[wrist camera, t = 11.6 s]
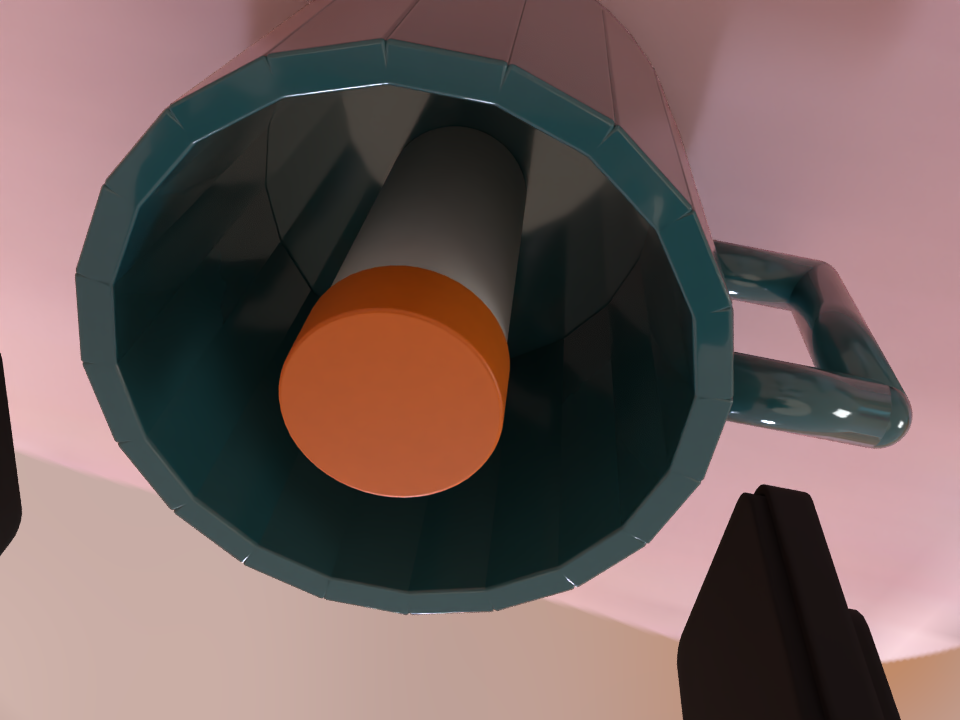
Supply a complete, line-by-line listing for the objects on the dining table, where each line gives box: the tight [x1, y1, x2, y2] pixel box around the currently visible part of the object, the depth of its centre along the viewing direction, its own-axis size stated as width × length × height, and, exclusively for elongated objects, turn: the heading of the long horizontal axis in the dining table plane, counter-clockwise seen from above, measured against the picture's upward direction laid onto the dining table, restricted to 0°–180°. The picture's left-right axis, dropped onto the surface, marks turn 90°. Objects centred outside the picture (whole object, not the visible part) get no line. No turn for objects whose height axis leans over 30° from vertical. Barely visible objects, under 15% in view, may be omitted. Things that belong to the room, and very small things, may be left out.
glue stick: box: [279, 126, 526, 498], centre depth 17 cm, size 3×3×9 cm
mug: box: [75, 0, 912, 615], centre depth 18 cm, size 14×10×9 cm
